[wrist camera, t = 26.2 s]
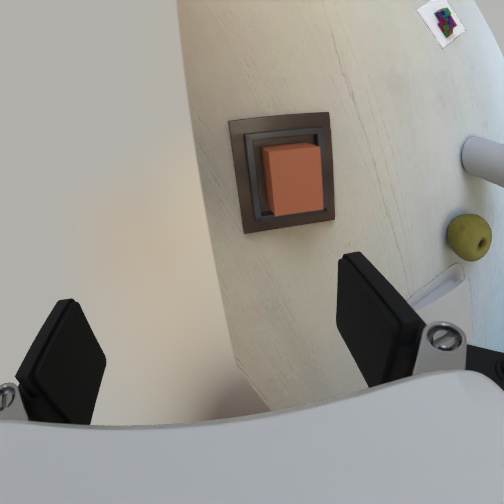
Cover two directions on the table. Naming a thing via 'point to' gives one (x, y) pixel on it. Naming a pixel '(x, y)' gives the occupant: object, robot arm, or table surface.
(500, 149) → the beverage can
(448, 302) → the book
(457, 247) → the apple
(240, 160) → the dark brown shallow tray
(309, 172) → the orange brown block
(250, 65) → the table surface
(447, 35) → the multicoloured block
